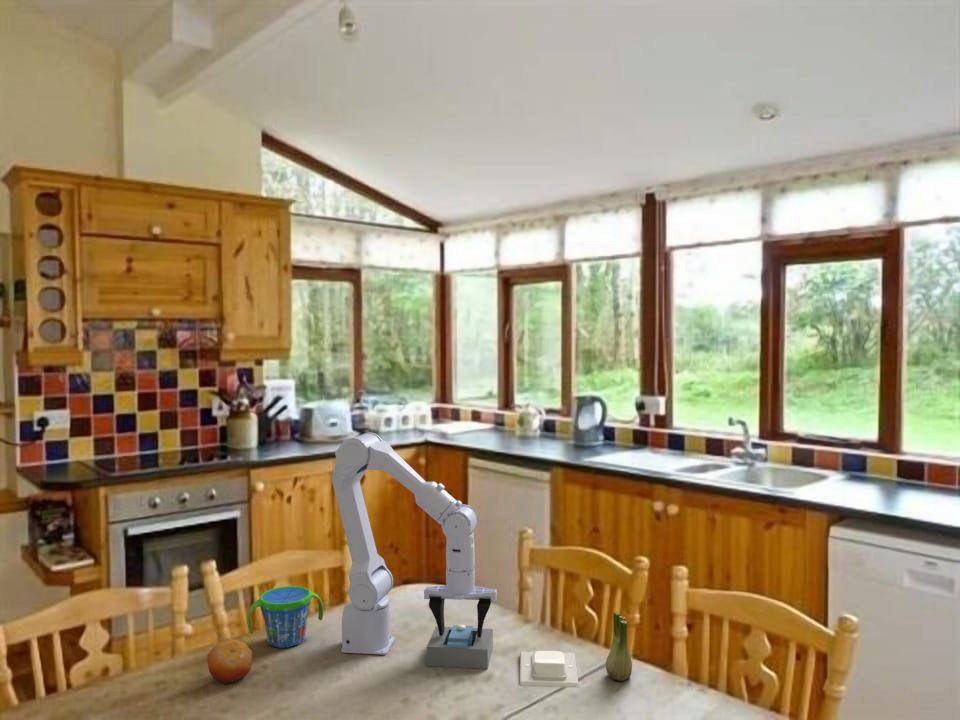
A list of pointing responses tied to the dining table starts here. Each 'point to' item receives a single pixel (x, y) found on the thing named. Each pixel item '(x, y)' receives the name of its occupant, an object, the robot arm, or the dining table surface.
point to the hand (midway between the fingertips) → (460, 634)
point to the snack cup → (285, 614)
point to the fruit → (229, 661)
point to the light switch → (548, 669)
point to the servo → (460, 636)
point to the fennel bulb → (619, 651)
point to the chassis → (460, 650)
